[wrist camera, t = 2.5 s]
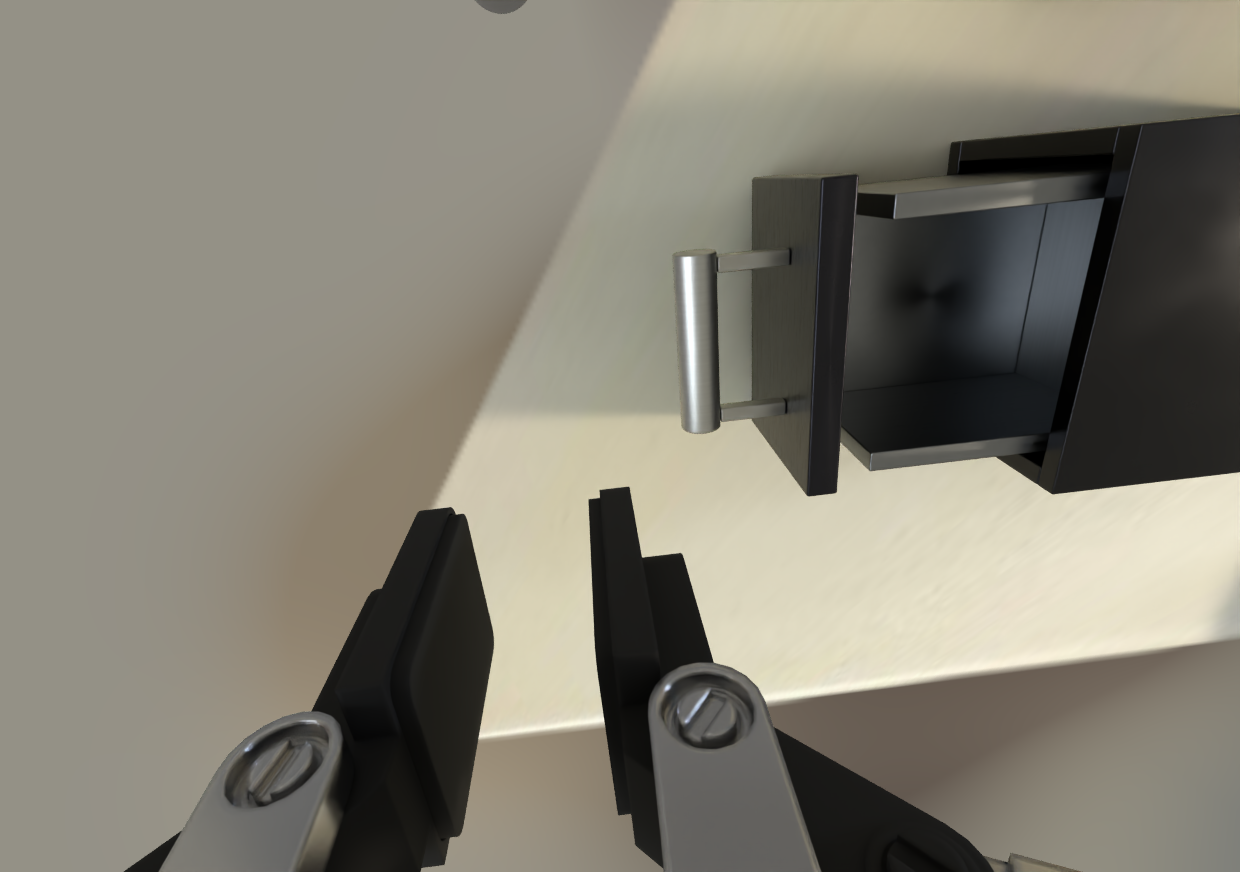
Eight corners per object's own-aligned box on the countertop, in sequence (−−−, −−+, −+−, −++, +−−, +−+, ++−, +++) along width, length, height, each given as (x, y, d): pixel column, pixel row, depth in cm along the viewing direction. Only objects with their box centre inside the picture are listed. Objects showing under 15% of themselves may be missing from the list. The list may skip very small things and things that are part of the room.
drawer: (668, 430, 30) (697, 510, 22) (652, 187, 25) (683, 191, 18) (1009, 391, 30) (1144, 458, 23) (1057, 146, 25) (1244, 134, 18)
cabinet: (917, 405, 31) (1051, 495, 22) (950, 142, 26) (1142, 123, 17) (1182, 375, 31) (1416, 451, 23) (1266, 110, 26) (1612, 76, 18)
